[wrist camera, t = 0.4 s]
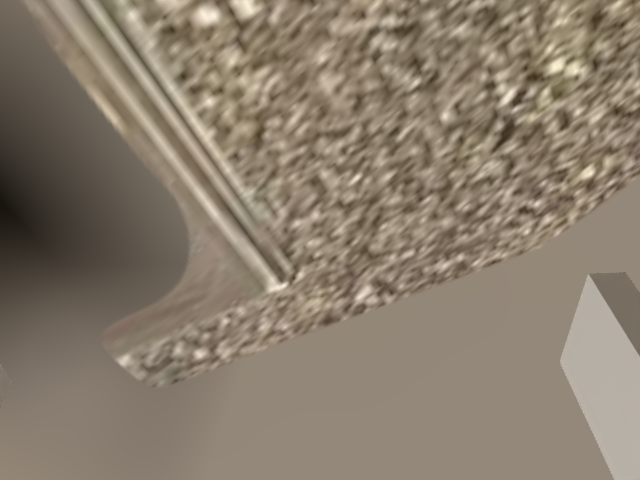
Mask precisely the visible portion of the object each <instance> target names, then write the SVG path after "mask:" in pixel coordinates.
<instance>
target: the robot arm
mask: <svg viewBox="0 0 640 480" xmlns="http://www.w3.org/2000/svg"><path fill="white" fill-rule="evenodd" d="M560 363H561V365H562V368H563V370H564V372H565V374H566V376H567V379H568V381H569V383H570V385H571V387H572V389H573V392H574V394H575V396H576V398H577V400H578V402H579V404H580V407H581V409H582V411H583V413H584V415H585V417H586V419H587V422H588V424H589V426H590V428H591V430H592V432H593V435H594V437H595V439H596V441H597V443H598V445H599V447H600V450H601V452H602V454H603V456H604V458H605V460H606V462H607V465H608V467H609V469H610V471H611V473H612V476H613V478H614V480H640V293H639V291H638V290H637V288H636V287H635V286H634V284H633V283H632V281H631V280H630V278H629V277H628V275H627V274H626V273H625V272H620V273H597V274H588V277H587V280H586V283H585V286H584V289H583V292H582V295H581V298H580V301H579V304H578V307H577V310H576V314H575V317H574V320H573V323H572V326H571V329H570V332H569V335H568V338H567V342H566V344H565V347H564V351H563V353H562V356H561V359H560ZM11 386H12V383H11V381H10V379H9V377H8V376H7V374H6V372H5V370H4V369H3V367H2V365H1V364H0V407H1V405H2V403H3V401H4V399H5V397H6V395H7V393H8V391H9V389H10V388H11Z"/></svg>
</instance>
